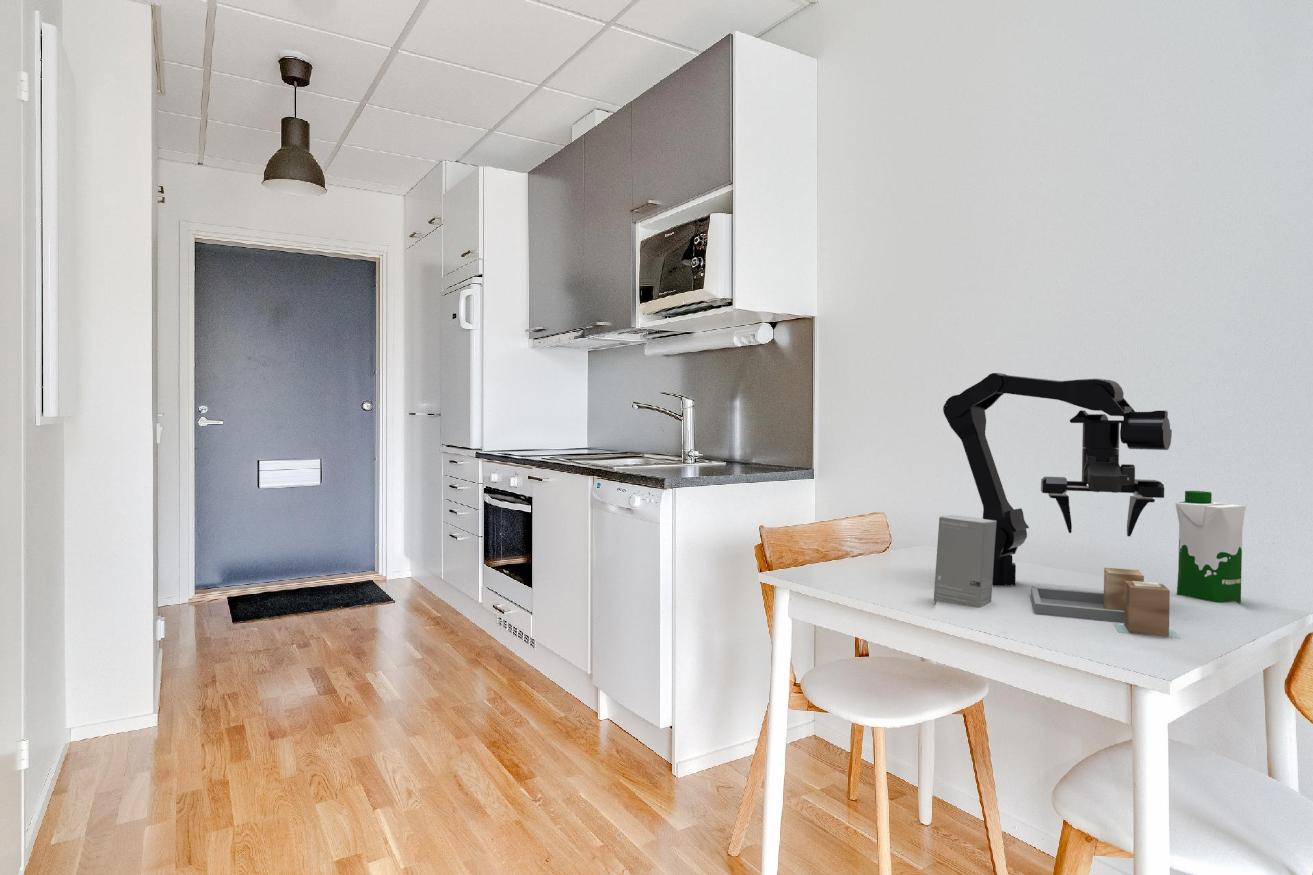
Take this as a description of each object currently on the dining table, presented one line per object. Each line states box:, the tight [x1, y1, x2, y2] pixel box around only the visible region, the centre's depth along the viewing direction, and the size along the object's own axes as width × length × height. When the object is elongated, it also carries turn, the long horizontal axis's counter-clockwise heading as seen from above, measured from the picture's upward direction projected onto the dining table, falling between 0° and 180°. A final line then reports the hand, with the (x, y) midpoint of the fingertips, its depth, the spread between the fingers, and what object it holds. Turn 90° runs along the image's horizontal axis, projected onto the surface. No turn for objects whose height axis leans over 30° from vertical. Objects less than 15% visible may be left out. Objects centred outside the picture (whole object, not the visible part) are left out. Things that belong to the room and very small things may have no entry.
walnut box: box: [1123, 581, 1171, 638], centre depth 113 cm, size 5×5×7 cm
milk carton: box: [1174, 490, 1247, 604], centre depth 136 cm, size 9×9×20 cm
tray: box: [1030, 586, 1124, 624], centre depth 126 cm, size 18×14×2 cm
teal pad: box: [1112, 623, 1182, 640], centre depth 113 cm, size 8×5×1 cm, turn 66°
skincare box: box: [933, 514, 997, 609], centre depth 132 cm, size 8×7×16 cm
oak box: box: [1103, 567, 1145, 611], centre depth 124 cm, size 5×5×7 cm
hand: (1098, 534), depth 134 cm, fingers open, 9 cm apart
